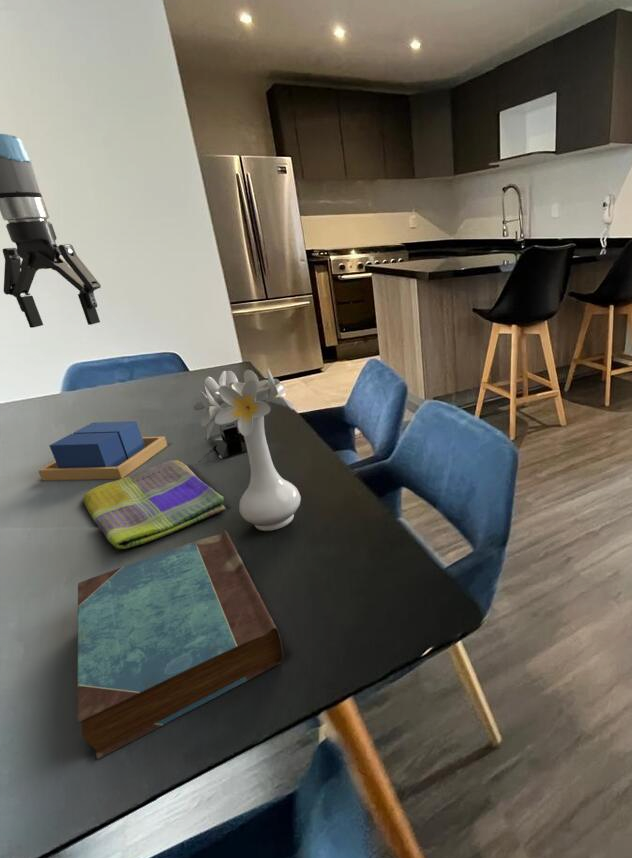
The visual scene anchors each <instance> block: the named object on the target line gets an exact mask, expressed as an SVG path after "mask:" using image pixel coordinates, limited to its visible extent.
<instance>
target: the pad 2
mask: <svg viewBox="0 0 632 858" xmlns="http://www.w3.org/2000/svg"><path fill="white" fill-rule="evenodd" d="M139 427H140V426H139V425H138V422H137V420H129V421H101V422H100V421H98V422H97V421H96V422H91V423H89V424H87V425H85V426H84V427H82V428H79V429H78V430H76V431H74V432H73V433H72V434H86V433H116V432H117V433H118V436H119V439H120V442H121V445H122V447H123V450H124V453H125V456H126V459H127V460H128V459H129V458H131V457H132V456H134V455H135V454H137V453H138V452H139V451H141V450H142V449H144V448H145V445H144V442H143V439H142V437H143V436H142V433H141V431H140V428H139Z"/></svg>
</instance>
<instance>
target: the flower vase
mask: <svg viewBox="0 0 632 858" xmlns="http://www.w3.org/2000/svg"><path fill="white" fill-rule="evenodd" d="M266 370H267V379H263V380H259V377H258V375H257V374H256V373H255V372H254V371H253V370H251V369H246V370H244V372H243V380H244V382H240V381H239V379H238V377H237V376H236V374H235V372H234V371H232V370H223V371H222V372H221V374H220V376H219V379H218V383H217V381H216V379H214V377H211V376H207V377H206V378H205V380H204V385H203V390H204V392H203V391H202V390H199V392H198V395H199V398H200V399H199V400H198V401H197V402H196V403H195V404H194V406H193V410H194V411H200V410H203V409H205V411H204V412H203V413H202V415H201V417H200V424H201V425H200V426H201V427H202V428H205V427H206V426H207V425H208V426H207V428H206V441H208V440H209V439H210V436H211V434H212V432H213V430H214V428H215V426H216V425H218V426H219V425H223V424H228V423H231V422H233V423H234V421H236V422H237V430H238V432H240V433H241V434H242V435H243V436H244V439H245V443H246V447H247V452H246V453H247V457H248V463H249V467H250V478H249V482H248V486H247V488H246V489H245V491H244V492H243V493H242V495H241V498H240V500H239V503H238V510H239V511H238V512H239V515H240V516H241V517H242V519H243V520H244V521H245V522H247V523H250V524H251V525H253V526H254V527H255V528H256V529H257V530H258V531H262V532H271V531H272V532H273V531H277V530H280V529H282V528H285V527H286V526H288V525H289V524H290V523H292V521H293V520H294V517H295V513H296V512H297V510H298V509H299V508H300V505H301V501H302V497H301V494H300V491H299V489H298V488H297V487H296V486H295V485H294V484H293V483H292V482H290V481H289V480H286V478H285V479H284V478H283V477H282V476H281V475H280V474H279V472H278V470H277V469H276V467H275V465H274V463H273V460H272V456H271V452H270V449H269V446H268V441H267V437H266V430H265V416H267V415H268V414H270V412H271V409H272V408H271V406H270V405H269V404H268V403H269V402H271V403H273V404H275V405H279V406H283V407H285V408H287V409H289V410H292V411H294V412H298V409H297V408H296V407H295V406H294V405H293V403H292V402H290V401H289V400H288V399H286V398H284V397H286V395H287V392H286V389H285V387H284V386H283V384H281V381H280V380H279V379H278V378H274V377H273V374H272V372H271V371H270V369H269V368H267V369H266Z"/></svg>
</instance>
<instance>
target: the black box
mask: <svg viewBox="0 0 632 858" xmlns="http://www.w3.org/2000/svg"><path fill="white" fill-rule="evenodd" d="M218 428H219V432H220V436H221V437H219V438H216V439H214V442H215V443H216V445H215V446H214V447H213V448H214V449H215V451H216V452H217V454H218V457H219V458H220V459H221V460H225V459H227V458H231V457H234V456H238V455H241V454H244V453H248V452H247V447H246V443H245V439H244V436H243V435H242V434H241V433H240V431H239V429H238V425H236V424H235V423H234V421H233V422H230V423H228V424H222V425H219V424H218Z"/></svg>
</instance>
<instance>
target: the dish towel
mask: <svg viewBox="0 0 632 858" xmlns="http://www.w3.org/2000/svg"><path fill="white" fill-rule="evenodd" d="M82 501H83V504H84V506H85V508H86V510H87V511H88V514H89V515H90V517H91V518H92V520H93V522H94V524H95V525H96V526H97V528H98V529H99V530H100V531H101V532H102V534H103V535H104V537H105V538H106V540H107V541H108V542H109V544H111V545H112V546H114V548H115V549H118V550H126V549H131V548H134V547H138V546H141V545H144V544H146V543H150V542H152V541H156V540H157V539H160V538H164V537H165V536H168V535H170V534H172V533H175V532H177V531H180V530H183V529H185V528H186V527H187V528H188V527H190V526H192V525H194V524H196V523H198V522H200V521H202V520H205V519H208V518H210V517H213V516H215V515H217V514H220V513H222V512H224V511H226V510H227V509H226V507H225V505H223V504H222V503H224V501H225V497H224V496H223V495H221V494H220V493H218V492H217V491H215V490H214V489H213V488H212V487H211V486H209V485H208V484H206V483H205V482H204V481H202V480H201V479H200V478H199V477H198V476H197V475H196V474H195V473H194V472H193V471H192V469H190V468H189V467H188V465H186V464H185V463H183V461H179V460H178V459H175V460H173V459H171V460H168V461H166V462H163V463H160V464H158V465H156V466H152V467H148V468H146V469H143V470H140V471H137V472H135V473H133V474H130V475H127V476H125V477H123V478H122V479H116V480H113V481H110V482H106V483H103V484H100V485H98V486H95V487H93V488H92V489H89V490H88V491H87V492H86V493H85V494H84V495H83V497H82Z"/></svg>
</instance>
